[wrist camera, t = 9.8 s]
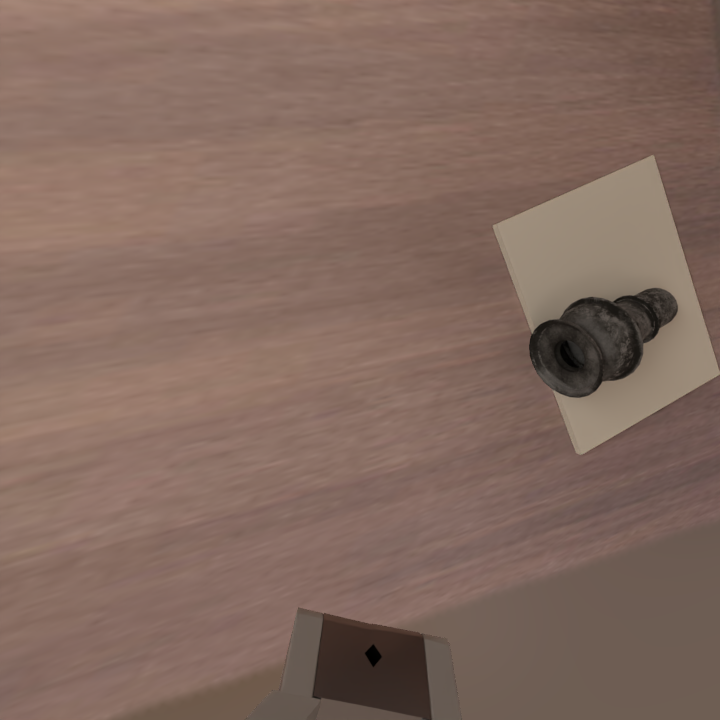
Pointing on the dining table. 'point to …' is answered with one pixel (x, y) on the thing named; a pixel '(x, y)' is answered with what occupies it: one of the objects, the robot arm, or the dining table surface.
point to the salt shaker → (598, 340)
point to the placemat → (612, 289)
